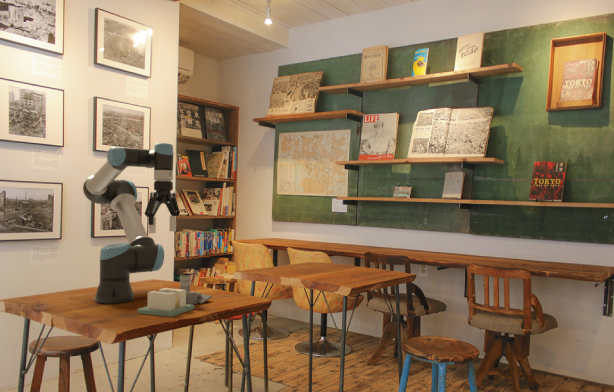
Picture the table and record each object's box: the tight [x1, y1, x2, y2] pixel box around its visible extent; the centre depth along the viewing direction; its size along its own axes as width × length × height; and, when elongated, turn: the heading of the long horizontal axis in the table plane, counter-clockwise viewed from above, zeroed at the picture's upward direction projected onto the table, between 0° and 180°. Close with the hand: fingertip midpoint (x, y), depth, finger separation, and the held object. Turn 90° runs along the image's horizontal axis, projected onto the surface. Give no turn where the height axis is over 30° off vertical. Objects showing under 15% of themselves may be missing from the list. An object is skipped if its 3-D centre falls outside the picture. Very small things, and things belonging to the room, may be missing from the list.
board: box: [137, 292, 196, 318], centre depth 189 cm, size 15×15×7 cm
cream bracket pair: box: [146, 287, 186, 311], centre depth 189 cm, size 10×10×6 cm
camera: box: [179, 275, 213, 305], centre depth 203 cm, size 9×12×15 cm
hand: (162, 232), depth 205 cm, fingers open, 13 cm apart
